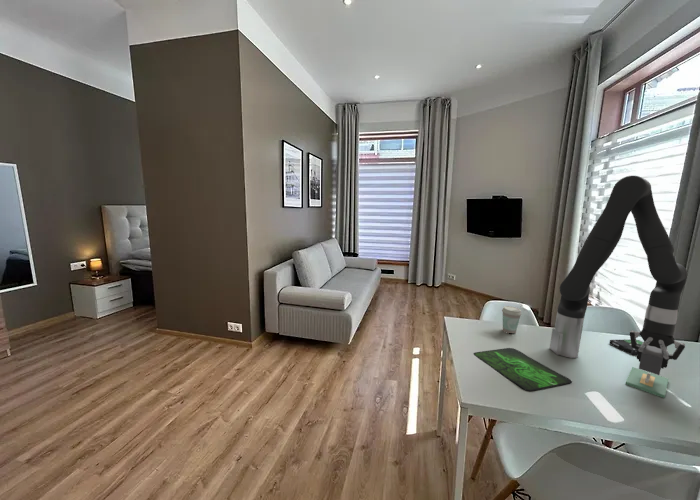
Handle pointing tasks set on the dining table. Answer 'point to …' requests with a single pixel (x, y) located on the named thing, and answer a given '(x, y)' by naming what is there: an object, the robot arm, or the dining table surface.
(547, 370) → the mouse mat
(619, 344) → the disk drive
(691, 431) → the dining table surface
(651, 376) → the green flat rectangular block
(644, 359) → the block
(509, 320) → the coffee cup
